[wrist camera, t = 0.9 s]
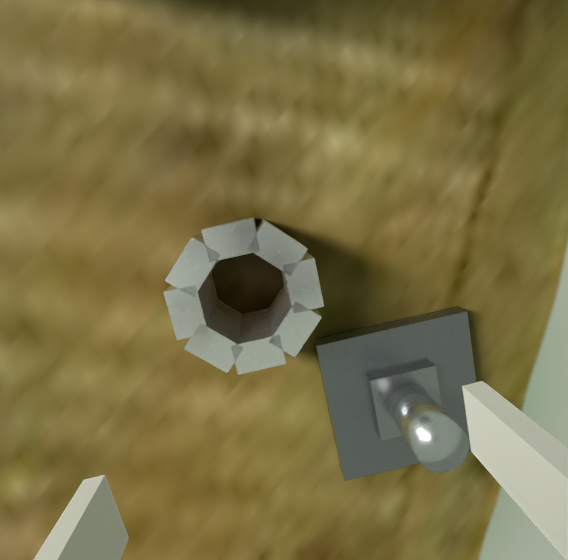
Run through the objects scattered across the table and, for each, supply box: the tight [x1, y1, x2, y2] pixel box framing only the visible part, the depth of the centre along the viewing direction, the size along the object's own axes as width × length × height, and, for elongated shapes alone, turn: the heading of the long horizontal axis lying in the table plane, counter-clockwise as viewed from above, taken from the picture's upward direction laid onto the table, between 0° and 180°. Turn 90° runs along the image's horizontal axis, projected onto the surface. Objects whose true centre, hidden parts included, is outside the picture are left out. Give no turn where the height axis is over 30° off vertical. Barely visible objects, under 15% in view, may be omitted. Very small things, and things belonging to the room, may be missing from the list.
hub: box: [164, 217, 324, 375], centre depth 26 cm, size 9×9×7 cm
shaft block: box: [314, 307, 476, 481], centre depth 28 cm, size 12×12×8 cm
